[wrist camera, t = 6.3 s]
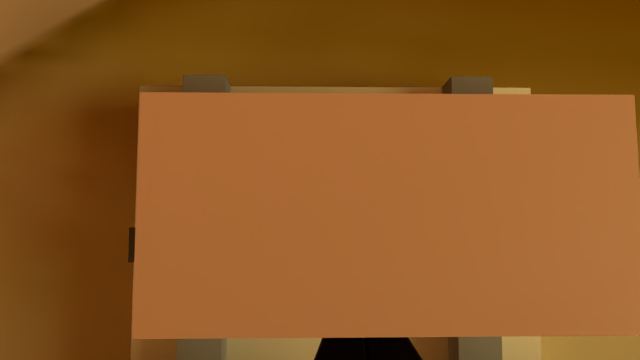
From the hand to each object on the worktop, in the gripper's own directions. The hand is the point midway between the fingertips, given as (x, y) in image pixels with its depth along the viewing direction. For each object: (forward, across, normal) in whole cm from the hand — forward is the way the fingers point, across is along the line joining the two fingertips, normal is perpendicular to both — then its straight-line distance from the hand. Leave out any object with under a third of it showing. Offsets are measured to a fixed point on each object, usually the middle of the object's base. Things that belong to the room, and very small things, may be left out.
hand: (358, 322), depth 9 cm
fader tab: (+5, 0, +3) cm, 6 cm away
